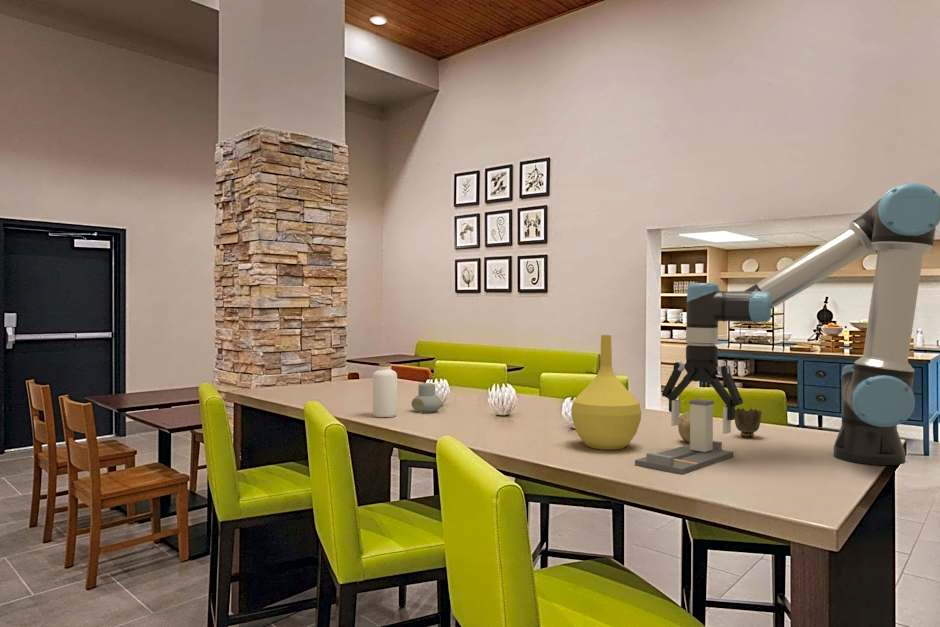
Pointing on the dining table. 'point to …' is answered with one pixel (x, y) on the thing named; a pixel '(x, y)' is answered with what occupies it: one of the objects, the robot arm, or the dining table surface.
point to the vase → (606, 408)
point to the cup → (747, 421)
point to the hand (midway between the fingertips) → (700, 429)
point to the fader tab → (701, 425)
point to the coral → (684, 426)
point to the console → (684, 459)
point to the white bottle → (384, 391)
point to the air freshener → (426, 399)
